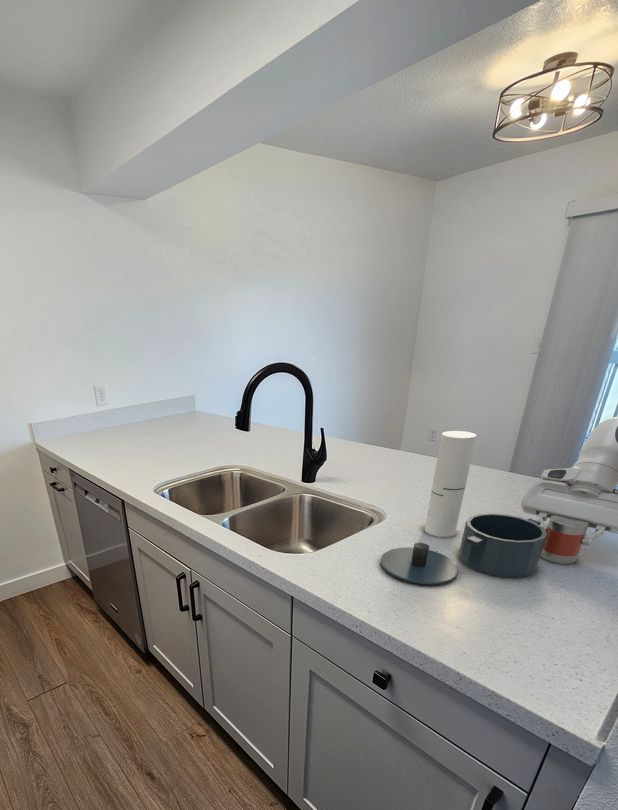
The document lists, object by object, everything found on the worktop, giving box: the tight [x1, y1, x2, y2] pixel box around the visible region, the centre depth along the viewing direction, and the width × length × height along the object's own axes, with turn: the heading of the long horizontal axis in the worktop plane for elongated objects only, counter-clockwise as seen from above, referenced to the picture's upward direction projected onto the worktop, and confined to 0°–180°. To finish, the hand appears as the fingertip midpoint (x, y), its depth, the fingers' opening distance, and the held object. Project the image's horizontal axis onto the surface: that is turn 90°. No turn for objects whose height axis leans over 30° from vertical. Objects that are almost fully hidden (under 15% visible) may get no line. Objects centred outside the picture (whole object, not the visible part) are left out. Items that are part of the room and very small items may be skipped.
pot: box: [458, 512, 547, 579], centre depth 96 cm, size 15×20×8 cm
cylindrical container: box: [424, 430, 477, 538], centre depth 107 cm, size 7×7×25 cm
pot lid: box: [380, 542, 459, 585], centre depth 95 cm, size 16×16×6 cm
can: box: [540, 515, 589, 565], centre depth 96 cm, size 7×7×9 cm
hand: (562, 538), depth 95 cm, fingers closed on can, 7 cm apart
